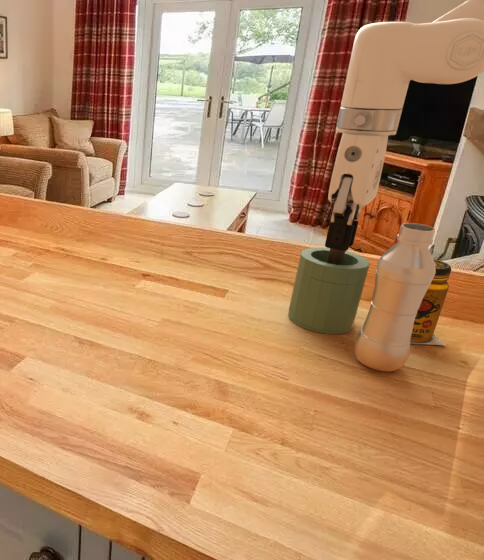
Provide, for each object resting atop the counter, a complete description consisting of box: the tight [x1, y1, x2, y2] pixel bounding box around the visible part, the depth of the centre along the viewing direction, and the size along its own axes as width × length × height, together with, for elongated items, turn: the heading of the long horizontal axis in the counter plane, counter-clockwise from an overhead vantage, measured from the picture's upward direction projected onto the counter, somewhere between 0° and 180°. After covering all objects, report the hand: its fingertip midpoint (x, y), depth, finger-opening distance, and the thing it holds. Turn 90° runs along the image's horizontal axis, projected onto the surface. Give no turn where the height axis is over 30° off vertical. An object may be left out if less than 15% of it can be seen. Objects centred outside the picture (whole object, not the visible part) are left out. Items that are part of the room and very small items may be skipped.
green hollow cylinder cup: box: [287, 246, 371, 335], centre depth 79 cm, size 10×10×11 cm
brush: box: [327, 210, 350, 265], centre depth 77 cm, size 4×4×15 cm
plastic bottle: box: [353, 222, 436, 372], centre depth 65 cm, size 6×7×20 cm
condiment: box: [410, 258, 452, 346], centre depth 75 cm, size 7×8×12 cm
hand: (338, 245), depth 76 cm, fingers closed on brush, 2 cm apart
